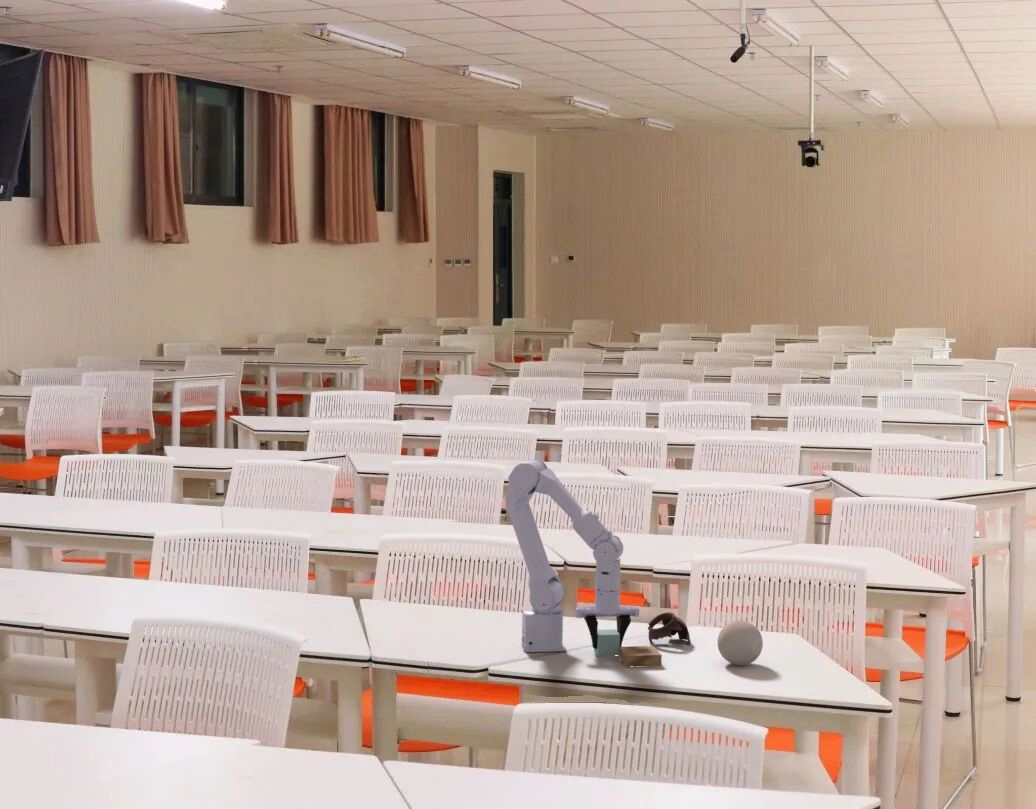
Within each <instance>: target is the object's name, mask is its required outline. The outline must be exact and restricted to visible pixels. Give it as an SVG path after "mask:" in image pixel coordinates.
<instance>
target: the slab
mask: <svg viewBox="0 0 1036 809" xmlns="http://www.w3.org/2000/svg"><path fill="white" fill-rule="evenodd" d="M619 658H620V659H621V660H620V659H619ZM618 659H619V660H620V661H622V662H623V663H624V664H625V665H624V664H623V663H622V662H621V663H622V664H623V665H624V667H625V666H626V667H625V668H631V667H630V666H634V667H633V668H636V667H635V666H661V667H662V654H661V653H660V652H659V651H658V650H657V648H656V647H655V646H654V645H638V646H621V647H619V656H618Z"/></svg>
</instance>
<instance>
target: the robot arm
mask: <svg viewBox="0 0 1036 809" xmlns="http://www.w3.org/2000/svg"><path fill="white" fill-rule="evenodd" d="M507 478H508V485H507V489H506V494H505V498H504V499H505V500H504V502H505V506H506V509H507V511H508V515H509V517H510V518H509V519H510V521H511V523H512V527H513V531H514V533H515V536H516V540H517V542H518V545H519V548H520V550H521V553H522V556H523V559H524V562H525V565H526V568H527V571H528V583H527V584H528V588H529V602H530V606H531V609H530V610H524V611H523V612H522V617H521V618H522V619H521V621H522V623H521V646H522V648H523V649H524V651H525V652H526V653H545V652H547V653H549V652H550V653H551V652H566V651H567V648H566V646H565V645H564V643H563V635H564V634H563V632H564V630H563V628H564V627H563V626H564V612H563V611H564V607H563V606H562V602H563V601H564V600H565V597H566V594H567V592H566V588H565V585H564V584H563V582H562V581H561V580H560V579H559V578H558V576H557V572H556V571H555V570H554V569H553V568H552V567H551V565H550V562H549V559H548V556H547V553H546V550H545V548H544V544H543V542H542V537H541V535H540V532H539V528H538V526H537V523H536V520H535V517H534V514H533V512H532V511H533V510H532V507H531V505H530V501H531V499H532V498H533V495H534V494H535V493H537V494H543V495H547V496H549V497H550V499H552V500H553V501H554V503H556V504H557V506H559V508H561V510H562V511H564V513H565V514H566V515H567V516H569V518H570V519H571V522H572V529H573V530H574V531H575V532H576V534H577V535H579V537H580V538H581V539H582V540H583V541H584V543H585V544H586V545H587V547H589V548H590V549H591V550H593V551H592V554H593V556H592V557H593V558H594V560H595V561H596V562H595V564H596V568H595V586H594V588H595V590H594V591H595V593H594V595H595V596H594V597H595V598H594V605H593V606H585V607H583V606H581V607H575V617H576V619H581V618H583V619H584V621H585V623H586V626H587V628H588V630H589V634H590V638H591V643H592V644H591V645H592V648H593V650H594V649H597V630H598V628H599V627H598V626H599V621H598V619H597V617H598V618H599V617H601V618H602V617H603V618H604V617H615V618H616V630H617V632H618V633H619V634H620V647H623V646H622V645H623V641H624V638H625V635H626V632H627V631H628V628H629V626H630V624H631V622H632V619H631V617H636V618H638V617H640V608H639V607H638V606H629V605H627V606H626V605H621V573H622V572H621V556H622V555H623V553H624V544H623V542H622V541H621V539H620V537H619V536H617V535H614V533H613V531H611V530H608V529H607V527H606V526H605V525H604V524H602V522H601V521H600V520H599V519H600V516H599V515H598V513H593V511H591V510H584V509H583V508H582V507H581V505H579V503H578V502H577V500H576V499H575V498H574V496H572V494H571V493H570V491H569V490H568V489H567V488H566V487H565V485H563V483H562V481H561V480H560V479H559V478H558V477H557V475H556V474H555V472H554V471H553V470H552V469H550V467H548V466H547V464H546V463H545V462H544V461H543V460H541V459H539V458H531V459H529V460H527V461H525V462H522V463H519V464H517V465H516V466H514V468H513V469H512V470H511V472H510V474H509V475H508V477H507Z"/></svg>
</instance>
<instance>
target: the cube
mask: <svg viewBox="0 0 1036 809" xmlns="http://www.w3.org/2000/svg"><path fill="white" fill-rule="evenodd" d="M619 647H620V634H619V633H618V632H617V628H615V629H612V628H610V629H597V649H594V648H593V652H594V653H595V654H596V656H597V655H598V656H604V657H616V656H615V655H619ZM598 656H597V657H598Z"/></svg>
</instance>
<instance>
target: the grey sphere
mask: <svg viewBox="0 0 1036 809" xmlns="http://www.w3.org/2000/svg"><path fill="white" fill-rule="evenodd" d="M763 645H764V642H763V637H762V634H761V632H760V630H759V629H758V628H757V627H756V625H754V624H753V623H751V622H749V621H746V620H742V619H740V620H739V619H737V620H733V621H732V620H731V621H730V622H728V623H726V624H725V625H724V626H723V627H722V628H721V630H720V631H719V633H718V635H717V649H718V651H719V654H720V655H721V657H722V658H723V659H724V660H725V661H727V662H728V663H730V664H732V665H733V666H734V665H735V666H746V665H750V664H752V663H753V662H754V661H756V660H757V659H758V658H759V656H760V655H761V653H762V651H763Z"/></svg>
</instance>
